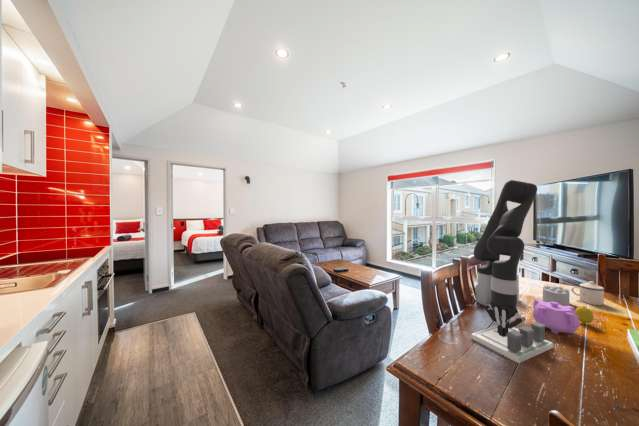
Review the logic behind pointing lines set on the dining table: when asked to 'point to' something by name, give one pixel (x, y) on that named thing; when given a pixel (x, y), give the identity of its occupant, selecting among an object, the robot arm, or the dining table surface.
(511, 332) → the grey upright block
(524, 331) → the handle middle
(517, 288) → the syrup box
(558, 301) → the lumpy-topped squat cylinder
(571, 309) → the purple rounded body
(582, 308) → the lemon
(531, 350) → the panel
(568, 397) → the dining table surface
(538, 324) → the handle
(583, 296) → the teacup with lid
